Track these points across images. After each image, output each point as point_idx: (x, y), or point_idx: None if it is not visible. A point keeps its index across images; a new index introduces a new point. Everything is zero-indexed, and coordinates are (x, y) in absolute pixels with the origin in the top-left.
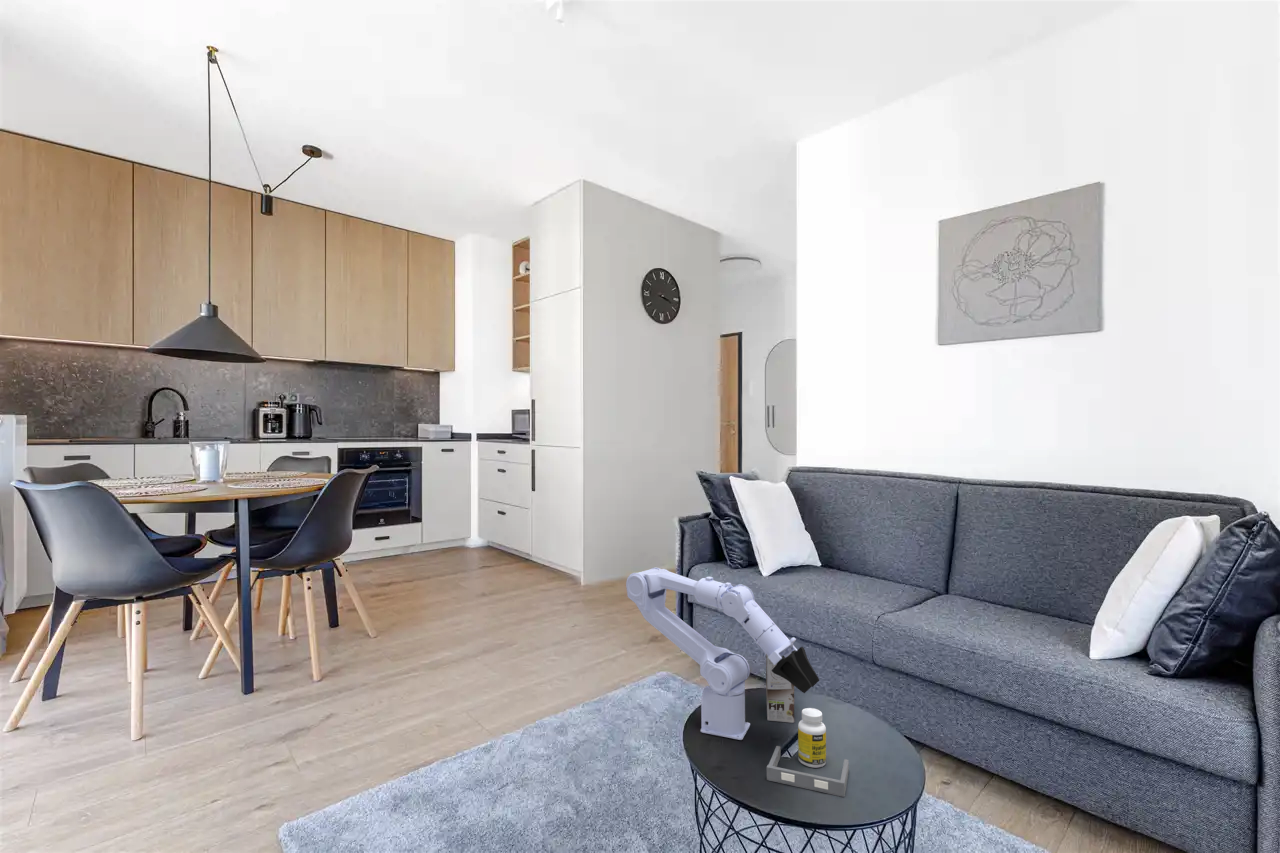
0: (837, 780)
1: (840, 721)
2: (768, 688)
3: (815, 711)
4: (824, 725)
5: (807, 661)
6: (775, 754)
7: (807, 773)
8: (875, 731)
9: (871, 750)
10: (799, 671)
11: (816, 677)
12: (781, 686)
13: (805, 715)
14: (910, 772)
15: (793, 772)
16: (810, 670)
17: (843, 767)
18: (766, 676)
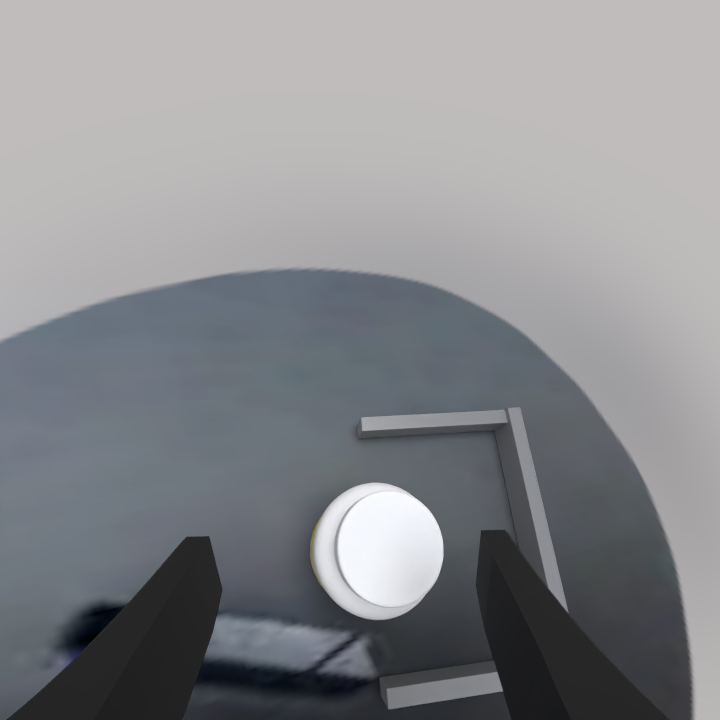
0: (516, 427)
1: None
2: None
3: (371, 530)
4: (363, 488)
5: (102, 697)
6: (461, 685)
7: (533, 522)
8: (25, 376)
9: (190, 377)
10: (601, 658)
11: (196, 560)
12: None
13: (439, 572)
14: (286, 277)
15: (557, 569)
16: (163, 630)
17: (417, 425)
18: None
